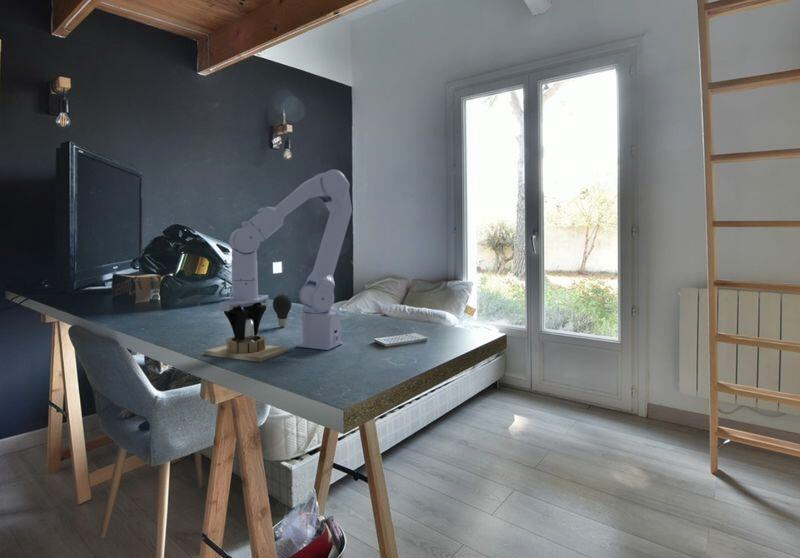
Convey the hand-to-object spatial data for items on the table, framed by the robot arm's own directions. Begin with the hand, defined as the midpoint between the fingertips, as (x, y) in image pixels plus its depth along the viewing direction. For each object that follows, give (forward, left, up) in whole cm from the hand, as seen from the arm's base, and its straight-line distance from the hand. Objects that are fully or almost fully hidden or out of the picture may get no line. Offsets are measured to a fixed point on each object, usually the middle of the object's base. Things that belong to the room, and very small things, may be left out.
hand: (246, 337), depth 109 cm
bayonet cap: (0, 0, -3) cm, 3 cm away
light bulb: (+11, -29, -4) cm, 32 cm away
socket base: (0, 0, -4) cm, 4 cm away
